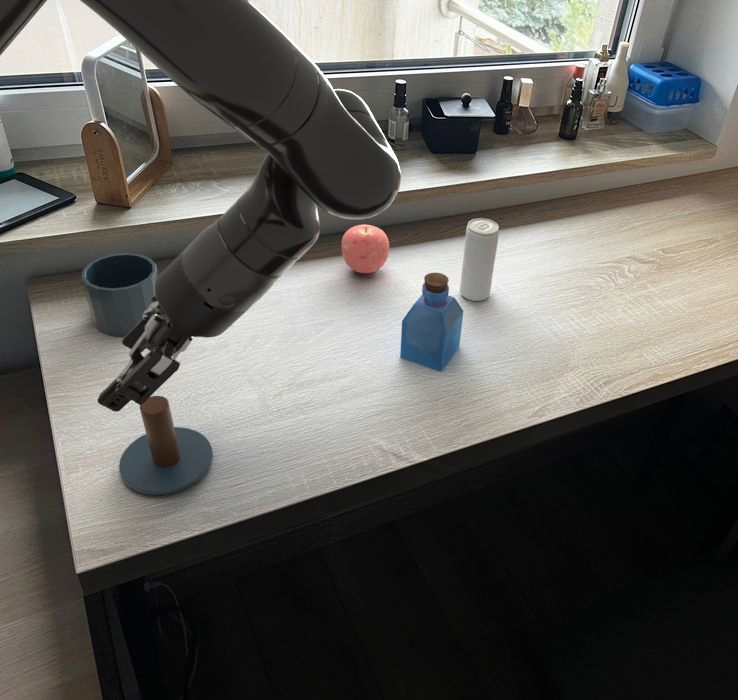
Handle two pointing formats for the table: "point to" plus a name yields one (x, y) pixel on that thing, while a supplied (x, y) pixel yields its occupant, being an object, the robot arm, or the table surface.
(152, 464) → the lid
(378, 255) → the apple
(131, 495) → the table surface
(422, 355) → the perfume bottle
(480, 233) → the beverage can
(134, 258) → the pot
